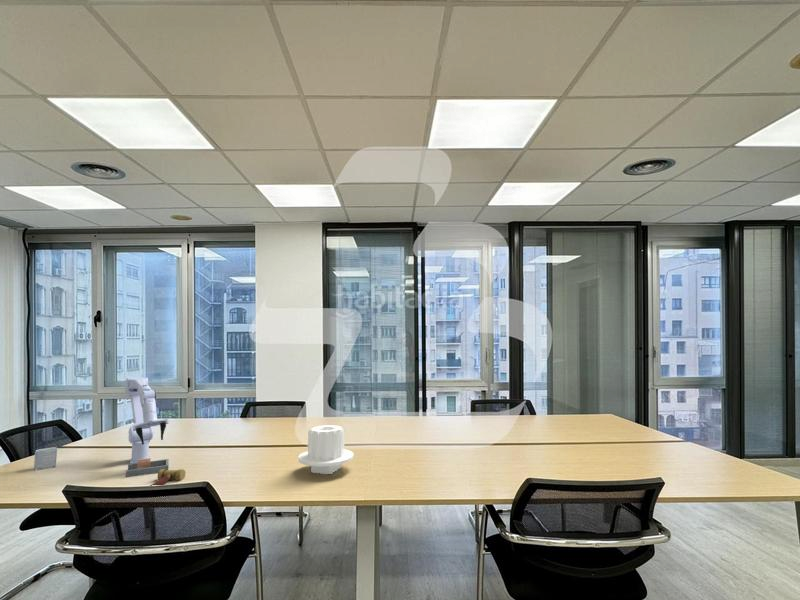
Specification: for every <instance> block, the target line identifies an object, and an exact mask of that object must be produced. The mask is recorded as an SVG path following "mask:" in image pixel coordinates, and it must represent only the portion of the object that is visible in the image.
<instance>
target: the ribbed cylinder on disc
mask: <svg viewBox="0 0 800 600" xmlns="http://www.w3.org/2000/svg"><path fill="white" fill-rule="evenodd" d="M297 459H298V463H300V464H302V465H304V466H310V467H311V473H312V474H313V473H314V474H319V473H320V474H319V475H327V474H331V475H332V474H334V473H335V471H336V472H337V471H339V470H340V469H341V465H342V464H347V463H349V462H350V461H352V460H353V459H354V452H353V451H351V450H349V449H345V428H344V427H342V426H341V425H333V424H332V425H331V424H326V425H324V424H323V425H317V426H314V427H313V426H312V427H311V428H310V429H308V431H307V451H304V452H301V453H300V454H299V455H298V457H297ZM338 469H339V470H338ZM333 472H334V473H333Z"/></svg>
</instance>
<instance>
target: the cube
mask: <svg viewBox="0 0 800 600" xmlns="http://www.w3.org/2000/svg"><path fill="white" fill-rule="evenodd" d="M150 461H152V460H151V457H149V458H147V459H139V460H138V462H137V469H142V468H149V467H150Z"/></svg>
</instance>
